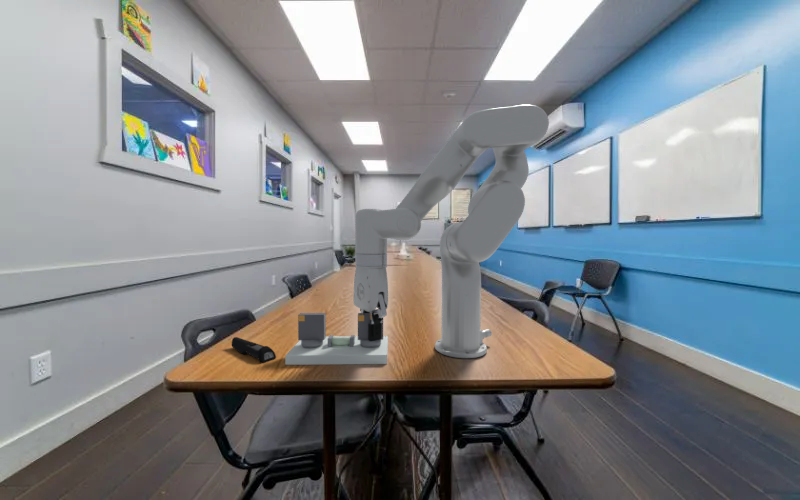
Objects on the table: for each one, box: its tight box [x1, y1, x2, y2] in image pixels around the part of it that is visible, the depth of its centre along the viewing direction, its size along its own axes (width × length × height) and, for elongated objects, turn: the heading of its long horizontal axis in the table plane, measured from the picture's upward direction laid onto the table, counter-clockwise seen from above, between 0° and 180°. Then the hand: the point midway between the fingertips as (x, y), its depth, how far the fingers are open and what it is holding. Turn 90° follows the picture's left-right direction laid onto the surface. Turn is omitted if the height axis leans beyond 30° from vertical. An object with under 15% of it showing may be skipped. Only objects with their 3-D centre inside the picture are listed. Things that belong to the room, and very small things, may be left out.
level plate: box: [284, 334, 389, 366], centre depth 71 cm, size 22×13×4 cm, turn 92°
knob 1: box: [297, 312, 327, 348], centre depth 71 cm, size 6×5×7 cm
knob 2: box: [357, 312, 384, 347], centre depth 71 cm, size 6×5×7 cm
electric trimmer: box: [231, 336, 277, 364], centre depth 71 cm, size 4×16×3 cm, turn 55°
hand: (371, 337), depth 71 cm, fingers closed on knob 2, 2 cm apart
